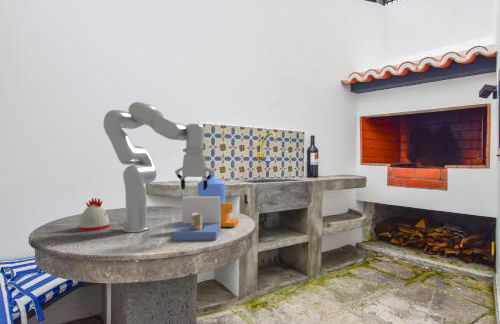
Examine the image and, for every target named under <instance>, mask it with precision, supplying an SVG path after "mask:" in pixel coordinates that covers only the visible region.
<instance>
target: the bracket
mask: <svg viewBox="0 0 500 324" xmlns="http://www.w3.org/2000/svg"><path fill="white" fill-rule="evenodd" d="M233 207H234V206H233V202H230V201H229V202H226V201H225V202H222V205H221V214H220V228H221V227H222V228H236V226H238V224H239V218H233V217H232V218H231V217H230V214H232V213H233V209H234V208H233Z"/></svg>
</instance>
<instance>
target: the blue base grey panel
mask: <svg viewBox="0 0 500 324" xmlns="http://www.w3.org/2000/svg"><path fill="white" fill-rule="evenodd" d="M181 198H182V204H181V205H182V223H181V224H180V225H179V226H178V227H177V228H176V229H175V230H174V231H173V235H172V236H173V241H174V242H175V241H216V240H217V239H218V236H219V233H220V231H221V226H220V197H200V196H182V197H181ZM193 213H202V220H203V230H191V215H192V214H193Z"/></svg>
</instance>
